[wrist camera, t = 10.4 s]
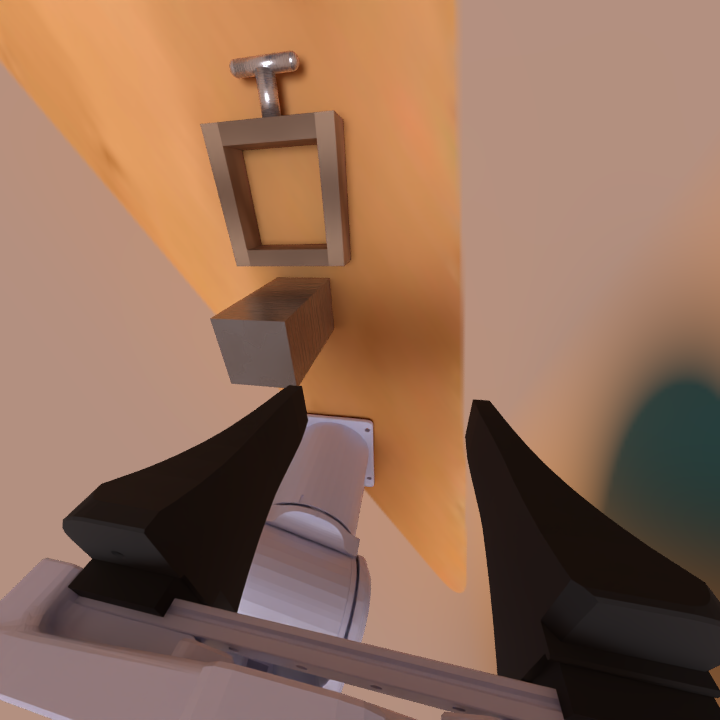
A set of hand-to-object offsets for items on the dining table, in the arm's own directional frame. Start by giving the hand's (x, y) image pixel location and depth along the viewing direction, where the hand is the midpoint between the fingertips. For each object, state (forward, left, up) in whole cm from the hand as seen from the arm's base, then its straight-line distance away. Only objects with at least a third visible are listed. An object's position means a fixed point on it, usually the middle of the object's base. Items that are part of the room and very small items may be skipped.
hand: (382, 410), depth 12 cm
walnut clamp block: (+9, +7, -10) cm, 16 cm away
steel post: (+1, +7, -10) cm, 13 cm away
